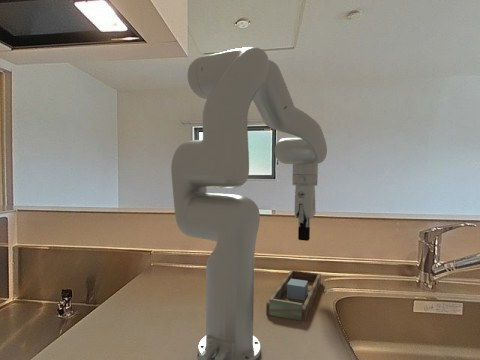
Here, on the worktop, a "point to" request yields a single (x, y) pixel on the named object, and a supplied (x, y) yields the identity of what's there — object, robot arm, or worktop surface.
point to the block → (297, 289)
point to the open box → (293, 308)
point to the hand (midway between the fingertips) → (303, 239)
